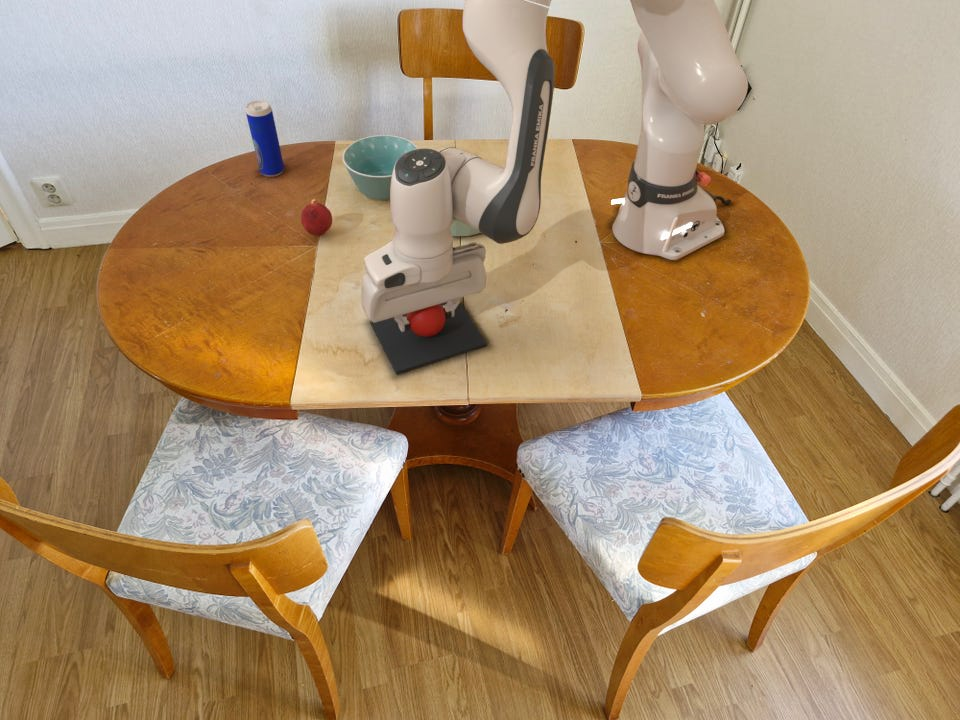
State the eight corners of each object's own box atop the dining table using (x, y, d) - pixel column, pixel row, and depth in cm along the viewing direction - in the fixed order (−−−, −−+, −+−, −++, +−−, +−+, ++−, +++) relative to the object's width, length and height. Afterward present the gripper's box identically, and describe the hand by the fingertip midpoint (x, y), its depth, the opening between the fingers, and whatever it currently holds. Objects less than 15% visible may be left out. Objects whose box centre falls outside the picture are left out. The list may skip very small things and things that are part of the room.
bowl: (412, 214, 140) (410, 179, 134) (337, 206, 141) (332, 170, 135) (428, 173, 151) (427, 138, 145) (358, 165, 152) (354, 131, 146)
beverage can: (259, 166, 151) (243, 101, 140) (283, 163, 152) (269, 98, 141) (261, 179, 147) (245, 113, 136) (285, 176, 149) (272, 110, 138)
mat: (455, 298, 123) (455, 295, 123) (486, 346, 115) (487, 342, 115) (370, 323, 118) (369, 319, 118) (396, 375, 110) (396, 371, 110)
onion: (328, 246, 132) (322, 211, 127) (300, 241, 133) (292, 207, 127) (338, 228, 136) (333, 193, 130) (310, 224, 137) (304, 189, 131)
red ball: (437, 312, 119) (435, 285, 114) (452, 337, 115) (451, 310, 110) (402, 324, 117) (399, 296, 112) (416, 349, 113) (413, 322, 109)
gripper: (477, 228, 109) (475, 293, 120) (353, 260, 103) (362, 326, 113) (494, 251, 106) (491, 316, 116) (366, 285, 99) (375, 352, 109)
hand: (426, 322), depth 114 cm, fingers closed on red ball, 6 cm apart
